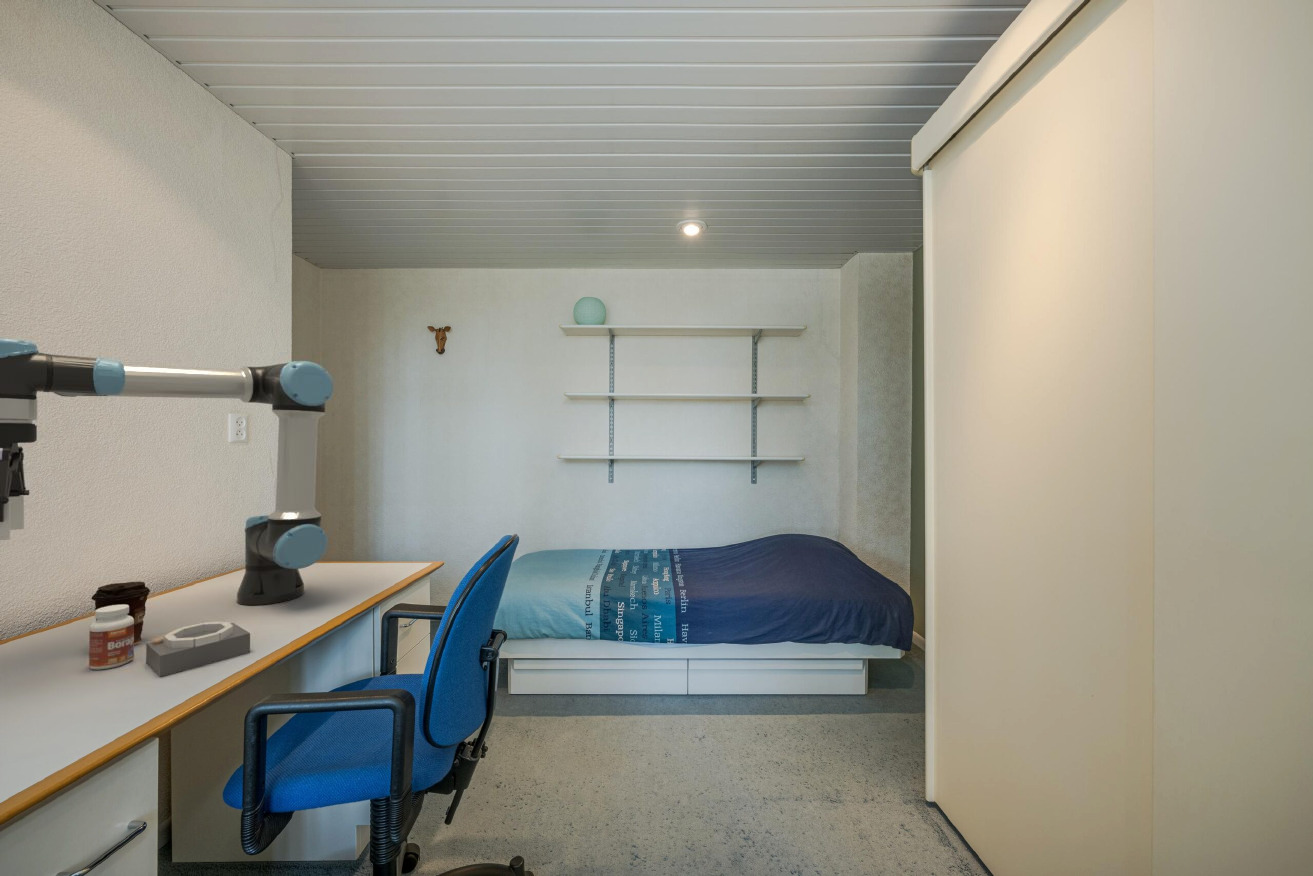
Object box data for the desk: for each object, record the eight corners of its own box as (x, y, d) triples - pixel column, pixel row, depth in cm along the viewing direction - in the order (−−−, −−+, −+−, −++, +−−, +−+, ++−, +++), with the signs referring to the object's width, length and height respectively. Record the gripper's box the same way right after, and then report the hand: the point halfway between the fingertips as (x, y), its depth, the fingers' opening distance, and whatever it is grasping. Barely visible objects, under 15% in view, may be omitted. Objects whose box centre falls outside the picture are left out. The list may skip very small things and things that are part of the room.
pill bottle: (109, 671, 101) (109, 613, 101) (79, 670, 101) (79, 612, 101) (142, 657, 107) (143, 603, 107) (114, 656, 107) (114, 602, 107)
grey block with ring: (233, 641, 116) (233, 616, 116) (250, 652, 110) (250, 626, 110) (146, 663, 104) (146, 635, 104) (159, 677, 99) (160, 647, 99)
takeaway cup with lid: (110, 655, 108) (110, 592, 108) (79, 651, 109) (80, 589, 109) (158, 639, 116) (158, 580, 116) (129, 636, 118) (129, 578, 118)
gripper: (-11, 421, 105) (-12, 527, 105) (-46, 420, 87) (-46, 548, 87) (46, 422, 110) (46, 523, 111) (24, 421, 92) (24, 542, 92)
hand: (5, 534), depth 99 cm, fingers open, 13 cm apart
